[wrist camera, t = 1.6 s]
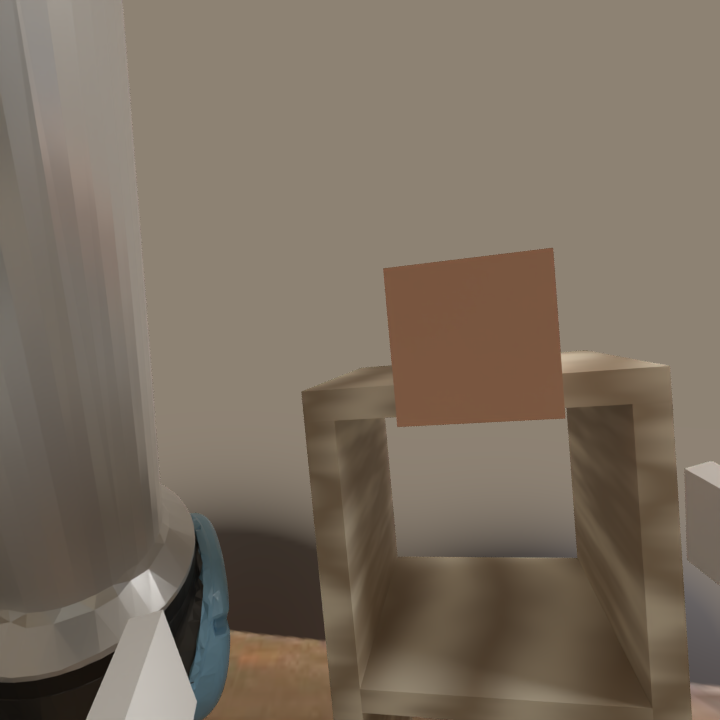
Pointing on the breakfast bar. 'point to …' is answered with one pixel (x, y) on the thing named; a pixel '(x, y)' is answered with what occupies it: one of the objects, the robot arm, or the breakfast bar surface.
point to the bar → (475, 340)
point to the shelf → (507, 569)
